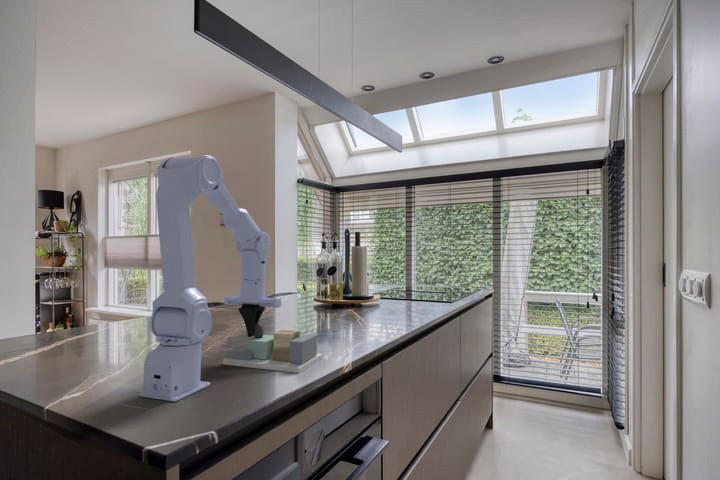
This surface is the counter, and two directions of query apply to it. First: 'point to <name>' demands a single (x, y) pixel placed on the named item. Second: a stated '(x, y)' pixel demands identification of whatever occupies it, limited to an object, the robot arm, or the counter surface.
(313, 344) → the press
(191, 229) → the robot arm
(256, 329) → the mint block with peg
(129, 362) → the counter surface
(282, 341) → the block
